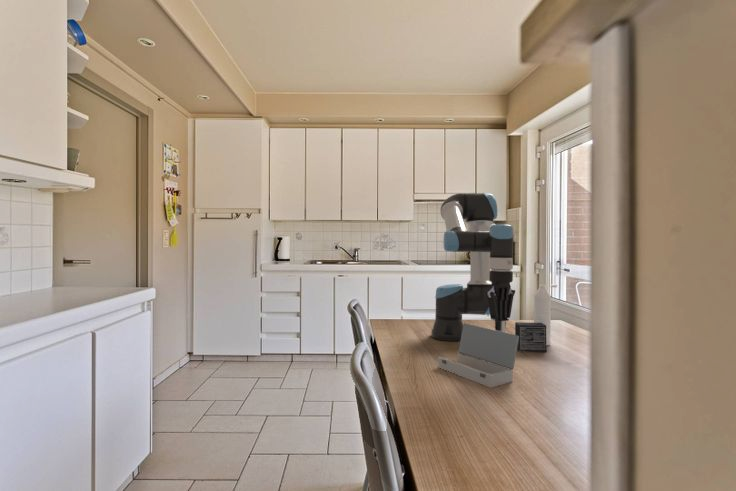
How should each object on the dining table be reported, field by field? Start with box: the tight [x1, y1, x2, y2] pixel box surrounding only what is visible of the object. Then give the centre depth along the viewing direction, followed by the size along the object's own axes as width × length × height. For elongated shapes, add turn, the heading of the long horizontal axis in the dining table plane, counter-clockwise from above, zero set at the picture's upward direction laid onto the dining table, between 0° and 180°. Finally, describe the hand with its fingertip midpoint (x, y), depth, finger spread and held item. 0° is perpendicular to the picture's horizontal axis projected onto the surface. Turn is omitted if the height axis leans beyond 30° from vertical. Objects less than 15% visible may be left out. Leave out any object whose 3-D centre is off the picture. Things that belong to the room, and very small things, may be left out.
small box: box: [514, 321, 547, 353], centre depth 159 cm, size 11×6×10 cm, turn 84°
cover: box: [458, 322, 519, 371], centre depth 133 cm, size 22×10×1 cm
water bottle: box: [533, 283, 558, 347], centre depth 168 cm, size 9×6×25 cm
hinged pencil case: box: [437, 352, 514, 389], centre depth 129 cm, size 22×10×4 cm, turn 34°
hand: (500, 339), depth 136 cm, fingers closed
